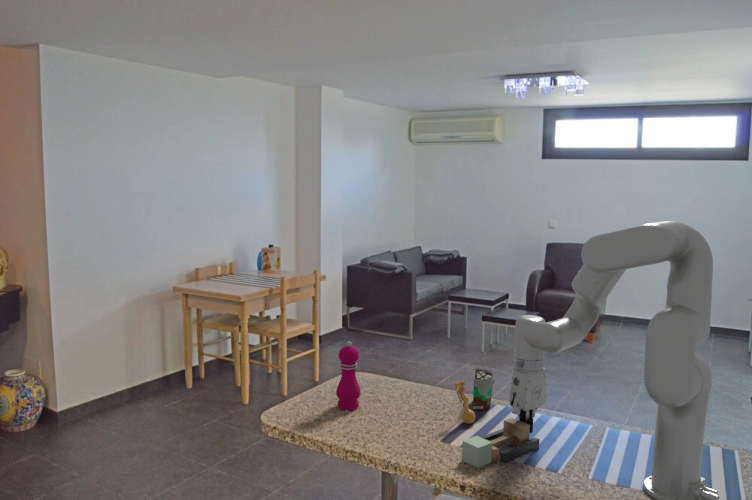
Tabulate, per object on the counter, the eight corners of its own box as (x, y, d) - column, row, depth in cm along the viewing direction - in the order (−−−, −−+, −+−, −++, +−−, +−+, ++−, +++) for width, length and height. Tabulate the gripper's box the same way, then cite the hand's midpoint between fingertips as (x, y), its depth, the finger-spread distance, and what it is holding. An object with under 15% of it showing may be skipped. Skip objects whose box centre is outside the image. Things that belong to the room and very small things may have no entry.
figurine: (471, 429, 168) (473, 387, 166) (450, 426, 170) (451, 384, 168) (477, 418, 175) (479, 378, 174) (457, 415, 178) (458, 375, 176)
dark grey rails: (539, 448, 157) (539, 439, 157) (503, 463, 148) (504, 453, 148) (508, 435, 164) (508, 426, 164) (472, 449, 156) (473, 439, 155)
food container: (493, 415, 179) (495, 381, 178) (472, 413, 180) (473, 379, 179) (494, 400, 191) (495, 368, 190) (474, 398, 192) (475, 367, 191)
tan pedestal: (529, 446, 157) (530, 425, 156) (493, 461, 148) (494, 439, 148) (509, 438, 162) (510, 417, 161) (473, 452, 153) (474, 430, 153)
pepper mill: (332, 409, 181) (333, 343, 178) (341, 401, 187) (341, 337, 185) (355, 412, 179) (356, 345, 176) (363, 404, 185) (364, 339, 183)
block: (491, 462, 149) (492, 442, 148) (477, 468, 146) (478, 447, 145) (475, 454, 153) (476, 435, 152) (462, 460, 150) (462, 440, 149)
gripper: (522, 372, 151) (519, 444, 153) (558, 362, 160) (555, 429, 163) (498, 365, 157) (495, 434, 159) (534, 355, 166) (531, 420, 168)
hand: (525, 431), depth 161 cm, fingers closed
